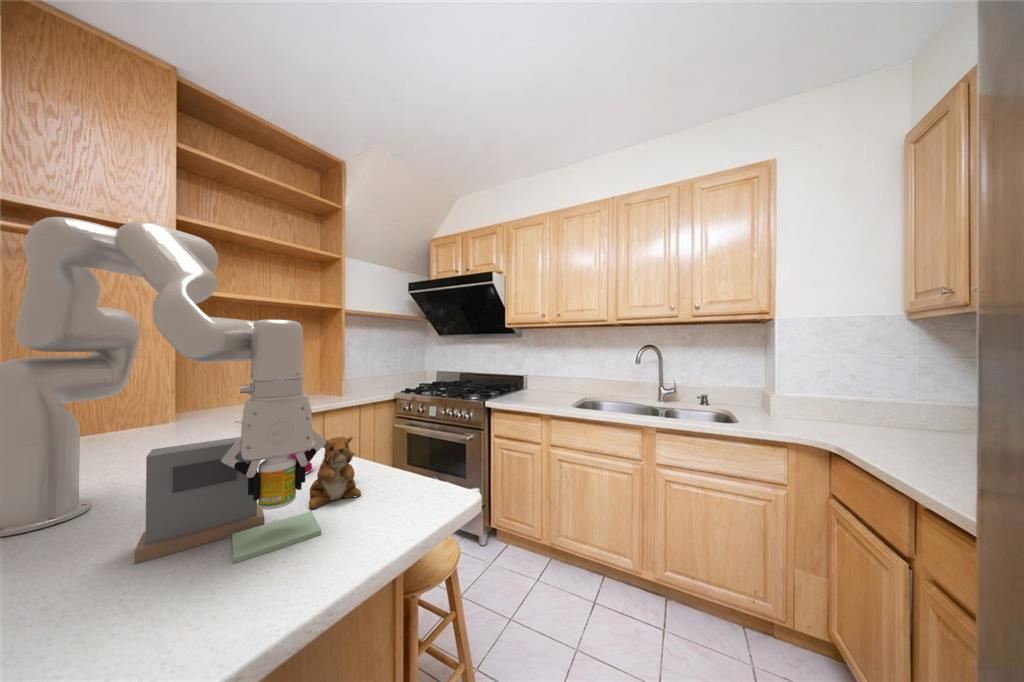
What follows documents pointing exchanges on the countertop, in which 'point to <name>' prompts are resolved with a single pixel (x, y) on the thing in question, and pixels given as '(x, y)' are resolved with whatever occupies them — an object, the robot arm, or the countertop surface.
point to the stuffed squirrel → (334, 474)
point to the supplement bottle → (277, 482)
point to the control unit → (194, 499)
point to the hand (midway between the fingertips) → (277, 491)
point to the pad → (273, 536)
